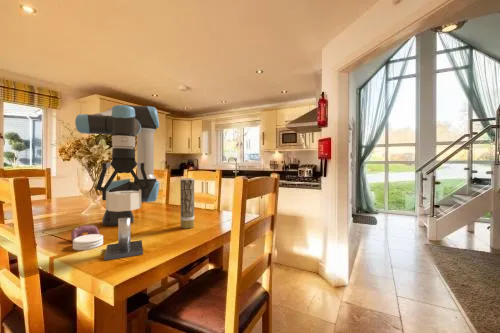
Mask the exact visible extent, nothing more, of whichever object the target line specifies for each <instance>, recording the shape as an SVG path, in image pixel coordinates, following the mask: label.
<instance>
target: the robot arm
mask: <svg viewBox="0 0 500 333" xmlns="http://www.w3.org/2000/svg"><path fill="white" fill-rule="evenodd" d="M74 122H75V124H74V125H75V128H76V131H77V132H78V133H80V134H84V135H85V134H88V135H112V136H111V147H113V148H112V149H111V150H112V151H111V152H112V154H111V158H112V159H111V161H110V162H102V163H101V168H102V169H101V172H100V175H99V179H98V182H97V184H96V188H95V190H97V191H99V192H100V191H101V195H102V196H101V197H102V198H101V200H102V201H105V211H104V214H103V217H102V222H101V223H102V225H103V226H107V227H108V226H109V227H110V226H111V227H112V226H113V227H115V226H118V219H119V218H122V217H130V224H131V223H133V222H134V221H135V217H134V214H133V210H131V211H120V212H115V211H108V194H109V193H110V192H117V191H139V208H142V203H151V202H153V203H154V202H156V201H157V199H158V196H159V190H160V181H159V180H157V177H156V176H155V174H154V169H155V167H154V166H155V165H154V163H155V162H154V160H155V159H154V158H155V156H154V154H155V153H154V152H155V151H154V150H155V149H154V144H155V143H154V142H155V140H154V138H155V137H154V134H155V133H156V132H157V129H158V128H160V119H159V113H158V110H157V108H156V107H154V106H148V105H132V104H124V105H123V104H115V105H113V106H112V107H110V108H107V110H106V111H102V112H98V113H94V114H87V113H82V114H81V113H80V114H78V115H76V117H75V121H74ZM135 147H136V150H135ZM110 166H111V167H112V169H113V170H114V171H113V172H112V173H111V175H110V177H109V178H108V179H107V181H106V183H105V184H104V186H103V182H104V179H105V176H106V173H107V170H108V169H109V168H110ZM135 167H136V173H135V170H134V169H135ZM118 174H131V176H132V177H133V181H131V180H130V178H126V179H125V178H124V179H118V180H114V179H115V178H116V176H117V175H118Z"/></svg>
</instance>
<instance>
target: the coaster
mask: <svg viewBox="0 0 500 333" xmlns="http://www.w3.org/2000/svg"><path fill="white" fill-rule="evenodd" d="M83 235H84V234H83ZM102 245H104V235H103V234H100V233H99V234H90V235H87V234H85V235H84V236H80V237H77V238H75V239H74V240H73V242H72V249H73V250H75V251H87V250H93V249H97V248H100V247H102Z"/></svg>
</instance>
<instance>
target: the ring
mask: <svg viewBox="0 0 500 333" xmlns="http://www.w3.org/2000/svg"><path fill="white" fill-rule="evenodd" d="M138 209H140V207H139V191H117V192H110V193H109V194H108V211H115V212H120V211H135V210H138Z"/></svg>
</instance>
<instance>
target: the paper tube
mask: <svg viewBox="0 0 500 333" xmlns="http://www.w3.org/2000/svg"><path fill="white" fill-rule="evenodd" d="M194 227H195V178H193V177H183V178H182V177H181V178H180V228H182V229H192V228H194Z"/></svg>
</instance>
